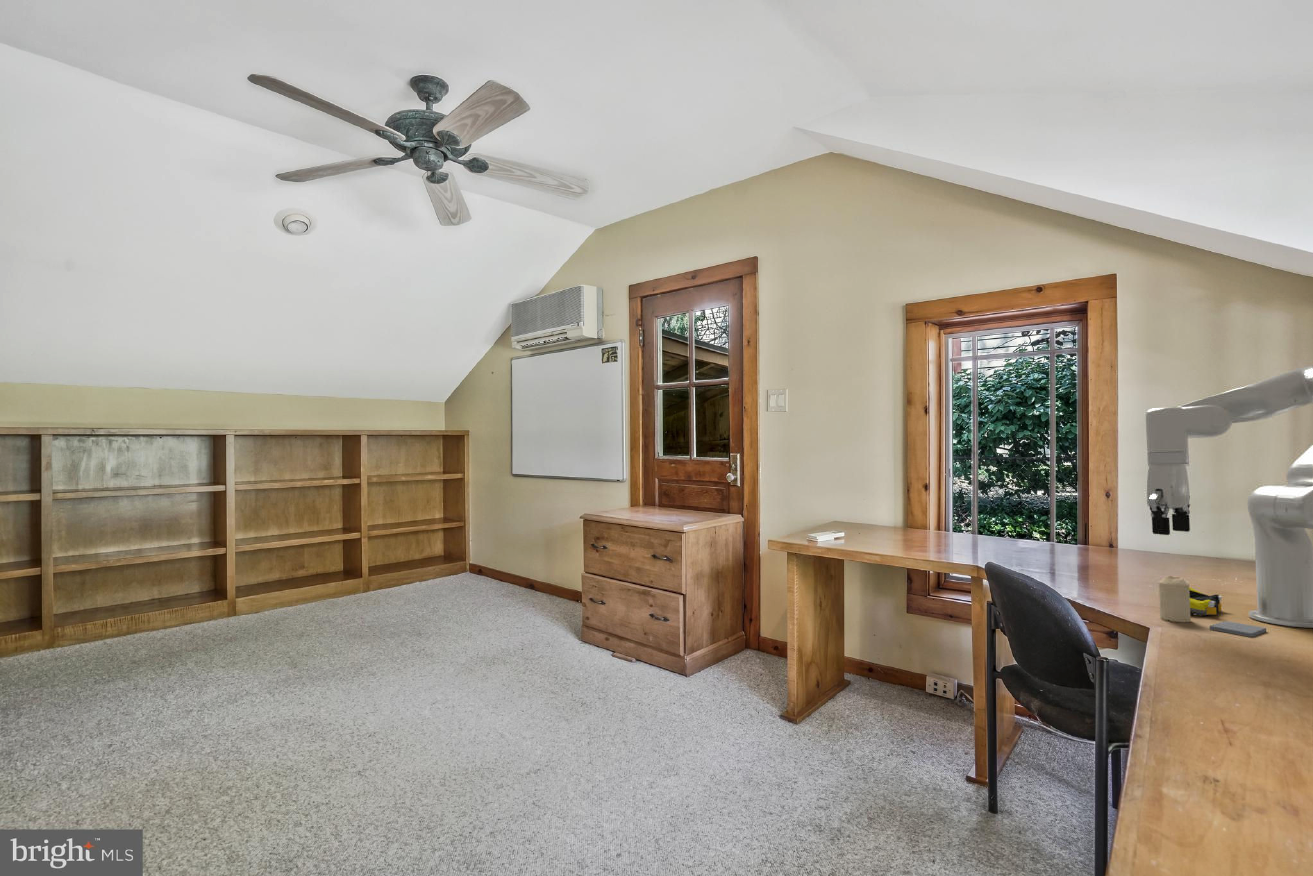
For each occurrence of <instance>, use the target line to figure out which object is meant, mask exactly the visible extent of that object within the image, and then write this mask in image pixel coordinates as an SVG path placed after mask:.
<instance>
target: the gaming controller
mask: <svg viewBox="0 0 1313 876" xmlns="http://www.w3.org/2000/svg"><path fill="white" fill-rule="evenodd" d="M1189 593H1190V614H1192V613H1193V614H1196V615H1195V616H1197V615H1206V616H1207V615H1208V616H1213V615H1216V616H1217V614H1218V613H1219V612H1222V603H1221V600H1222V598H1223V595H1219V594H1213V595H1207V594H1205V593H1202V592H1200V591H1198V590H1196V589H1194V588H1192V587H1190V586H1189ZM1193 614H1192V615H1193Z"/></svg>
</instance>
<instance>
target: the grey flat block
mask: <svg viewBox="0 0 1313 876" xmlns="http://www.w3.org/2000/svg"><path fill="white" fill-rule="evenodd" d="M1209 630H1211V631H1217V632H1221V633H1227V634H1231V635H1237V636H1243V637H1247V636H1248V637H1249V638H1253V637H1255V636H1259V635H1261V634H1264V633H1267V627H1262V626H1256V625H1251V624H1246V623H1245V624H1244V623H1240V622H1235V621H1234V622H1233V621H1228V620H1224V621H1221V622H1217V623H1215V624H1211V625H1209ZM1248 637H1247V638H1248Z"/></svg>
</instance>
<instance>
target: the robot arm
mask: <svg viewBox="0 0 1313 876" xmlns="http://www.w3.org/2000/svg"><path fill="white" fill-rule="evenodd" d="M1311 404H1313V365H1308V366H1304V367H1300V368H1299V367H1298V368H1296V369H1293V370H1290V371H1287V372H1284V373H1280V374H1277V375H1275V376H1272V377H1269V378H1267V379H1264V380H1260V381H1257V382H1255V383H1254V382H1253V383H1251V384H1248V385H1245V386H1242V387H1238V388H1233V389H1231V390H1227V391H1225V392H1221V393H1216V394H1213V395H1210V396H1207V397H1204V398H1201V399H1196V400H1193V401H1190V402H1187V403H1184V404H1181V405H1179V406H1173V407H1156V408H1155V407H1154V408H1151V409H1148V410H1147V411H1146V413H1145V429H1146V430H1145V431H1146V433H1145V434H1146V449H1147V450H1146V451H1147V467H1148V470H1147V471H1148V472H1147V480H1146V505H1147V506H1148V507H1149V510H1150V516H1151V529H1152V531H1151V532H1152V534H1153V535H1160V536H1163V535H1164V536H1170V535H1171V529H1170V528H1171V526H1172V531H1175V532H1185V533H1188V532H1190V531H1191V525H1190V514H1191V511H1190V506H1191V504H1190V500H1191V496H1190V486H1189V478H1188V477H1189V476H1188V471H1187V467H1188V466H1190V461H1189V457H1190V456H1189V455H1190V454H1189V441H1188V439H1194V438H1197V439H1200V438H1202V439H1203V438H1204V439H1206V438H1215V437H1219V436H1222V435H1224V434H1225V433H1227V432H1228V431H1229V430H1230V429H1231V427H1232V425H1233V424H1238V423H1248V422H1249V423H1250V422H1255V421H1260V420H1261V421H1262V420H1265V419H1269V418H1273V417H1275V416H1278V415H1280V414H1283V413H1287V412H1290V411H1293V410H1294V409H1299V408H1301V407H1305V406H1308V405H1311ZM1286 480H1287V482H1288V484H1279V483H1278V484H1277V483H1276V484H1269V485H1268V484H1267V485H1263V486H1260V487H1258V488H1256V489H1255V490H1253V491H1252V492H1251V493H1250V494H1249V496H1248V498H1247V511H1248V514H1249V517H1250V520H1251V524H1252V529H1253V535H1254V546H1255V547H1254V550H1255V551H1254V552H1255V578H1256V579H1255V580H1256V599H1257V600H1256V602H1257V603H1256V604H1257V609H1252V610H1248V616H1249V617H1250V618H1251V619H1254V620H1256V621H1259V622H1263V623H1267V624H1273V625H1279V626H1285V627H1292V628H1293V627H1295V628H1309V629H1311V628H1313V543H1312V539H1311V538H1310V536H1309V534H1308V532H1307V529H1308V530H1313V444H1312V445H1311V446H1310V447H1309V448H1308V449H1306V450H1305V451H1304V452H1303V453H1302V454H1301V455H1300V456H1299V457H1298V458H1297V459H1296V460H1294V462H1293V463H1292V464H1291V465H1290V466H1289V467H1288V469H1287V472H1286ZM1170 509H1171V510H1172V513H1171V521H1170V517H1168V515H1169V511H1170ZM1170 522H1172V525H1171V526H1170Z"/></svg>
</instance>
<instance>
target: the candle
mask: <svg viewBox="0 0 1313 876" xmlns="http://www.w3.org/2000/svg"><path fill="white" fill-rule="evenodd" d="M1189 587H1190V584H1189V583H1188V582H1187V581H1186V580H1185V579H1184V578H1183V577H1178V576H1177V577H1174V576H1171V575H1169V576H1165V577H1164V578H1162V579H1161V580H1160V581H1158V588H1159V589H1158V593H1159V616H1160V619H1162V620H1164V621H1168V620H1169V622H1174V623H1190V622H1191V612H1190V593H1189Z"/></svg>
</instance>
